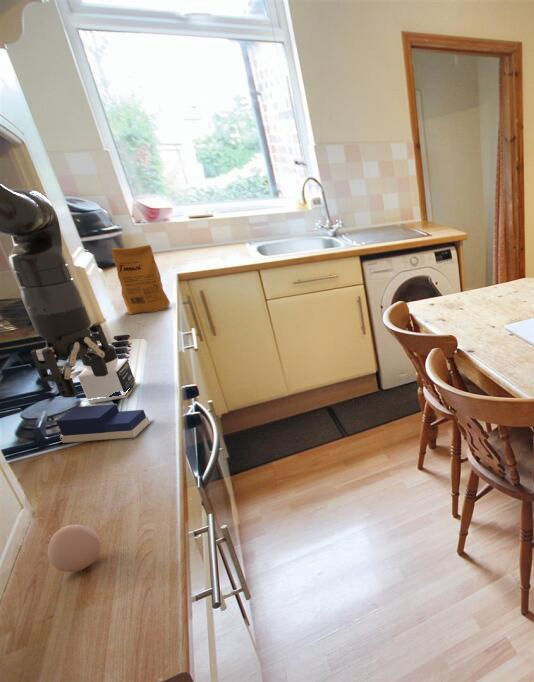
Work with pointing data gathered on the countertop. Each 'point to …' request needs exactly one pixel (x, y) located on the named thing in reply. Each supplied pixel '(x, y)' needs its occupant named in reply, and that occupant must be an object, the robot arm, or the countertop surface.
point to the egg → (73, 548)
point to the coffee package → (140, 279)
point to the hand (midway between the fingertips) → (87, 385)
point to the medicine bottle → (107, 378)
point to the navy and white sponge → (100, 423)
